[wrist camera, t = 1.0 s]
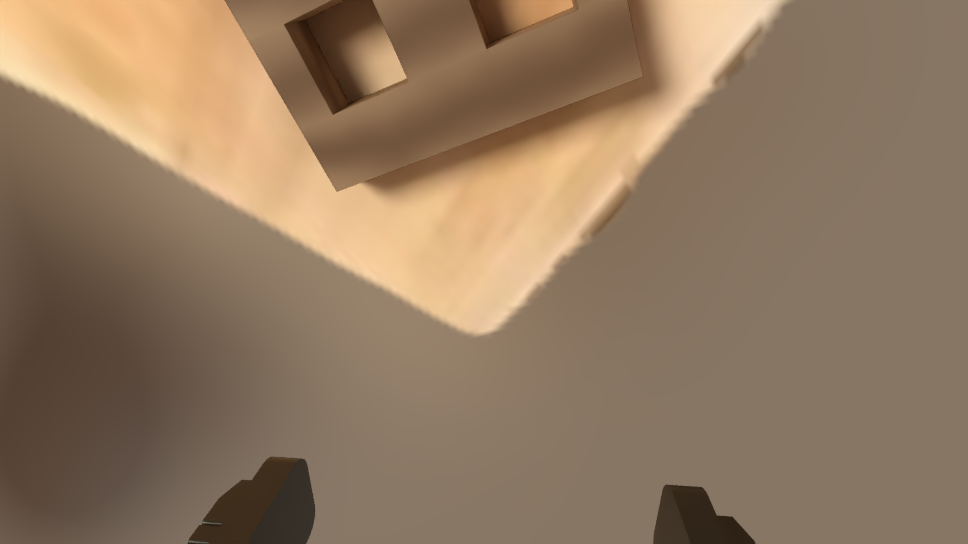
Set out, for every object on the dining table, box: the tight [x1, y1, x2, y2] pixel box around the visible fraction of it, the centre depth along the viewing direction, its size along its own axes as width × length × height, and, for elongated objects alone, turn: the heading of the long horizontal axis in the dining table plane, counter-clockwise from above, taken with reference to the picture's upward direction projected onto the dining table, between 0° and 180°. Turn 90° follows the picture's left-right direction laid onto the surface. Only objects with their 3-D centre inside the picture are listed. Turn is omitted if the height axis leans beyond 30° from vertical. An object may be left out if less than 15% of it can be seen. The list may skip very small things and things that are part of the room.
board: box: [225, 0, 643, 192], centre depth 26 cm, size 14×20×3 cm
